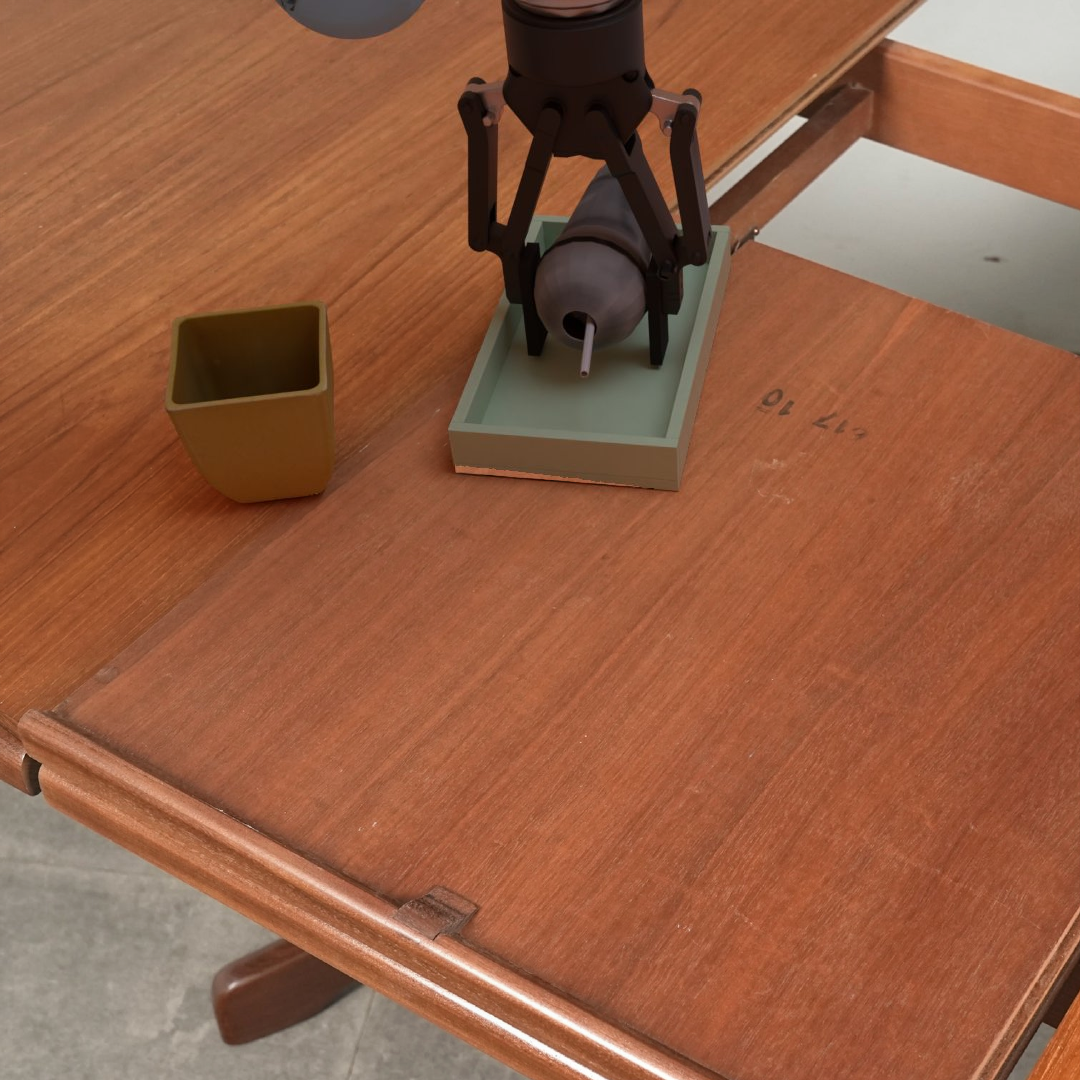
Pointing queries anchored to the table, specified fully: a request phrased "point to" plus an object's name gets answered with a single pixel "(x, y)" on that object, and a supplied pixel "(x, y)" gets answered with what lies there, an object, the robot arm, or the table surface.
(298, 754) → the table surface
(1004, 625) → the table surface
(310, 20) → the robot arm
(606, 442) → the tray
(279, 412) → the flower pot
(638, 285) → the beverage cup
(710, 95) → the table surface
